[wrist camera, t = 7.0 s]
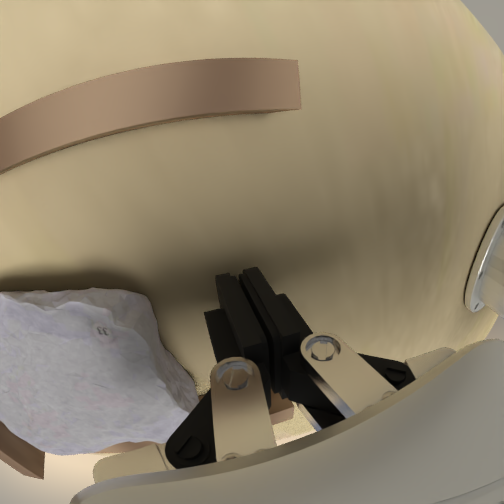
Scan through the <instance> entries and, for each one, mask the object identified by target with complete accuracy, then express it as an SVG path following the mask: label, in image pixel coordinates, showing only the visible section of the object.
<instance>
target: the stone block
mask: <svg viewBox="0 0 504 504" xmlns="http://www.w3.org/2000/svg"><path fill="white" fill-rule="evenodd" d="M198 403H199V399H198V395H197V392H196V388H195V382H194V381H193V380H192V378H191V377H190V375H189V374H188V373H187V372H186V371H185V370H184V369H183V367H182V365H180V364H179V363H178V362H177V361H176V360H175V358H174V357H173V356H172V354H171V353H170V352H169V351H168V350H166V349H165V348H164V347H163V345H162V343H161V341H160V337H159V333H158V323H157V320H156V318H155V315H154V313H153V310H152V306H151V303H150V301H149V300H148V298H147V297H146V296H145V295H142V294H138V293H135V292H130V291H126V290H120V289H100V288H94V287H92V288H90V289H87V290H65V291H60V292H46V291H45V290H40V291H39V290H35V291H30V292H28V291H11V292H6V291H4V292H1V291H0V421H2V422H3V423H4V424H5V425H6V427H7V428H8V429H9V430H10V431H11V432H12V433H14V434H15V435H16V436H18V437H19V438H21V439H23V440H25V441H27V442H28V443H30V444H31V445H33V446H34V447H36V448H38V449H39V450H41V451H44V452H47V453H51V454H55V455H75V454H81V453H82V454H86V453H95V452H98V451H100V450H103V449H105V448H107V447H109V446H112V445H115V444H118V443H122V442H129V441H130V442H135V443H137V442H143V441H153V442H156V443H161V444H163V443H166V442H167V440H168V439H169V437H170V436H171V435H172V434H173V433H174V431H175V430H176V429H177V428H178V427H179V426H180V424H181V423H182V422H183V421H184V420H185V419H186V417H187V416H188V415H189V414H190V413H191V411H192V410H193V409H194V408H195V407H196V405H197V404H198Z"/></svg>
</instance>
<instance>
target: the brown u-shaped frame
mask: <svg viewBox="0 0 504 504" xmlns="http://www.w3.org/2000/svg"><path fill="white" fill-rule="evenodd" d="M299 109H301V96H300V82H299V69H298V60H287V59H270V58H222V59H205V60H193V61H183V62H175V63H168V64H161V65H155V66H149V67H144V68H138V69H133V70H129V71H124V72H120V73H116V74H112V75H108V76H104V77H101V78H97V79H94V80H90V81H87V82H84V83H81V84H78V85H75V86H72V87H69V88H66V89H63V90H61V91H58V92H55V93H53V94H50V95H48V96H45V97H43V98H41V99H38V100H36V101H34V102H32V103H29V104H27V105H25V106H23V107H21V108H19V109H17V110H15V111H13V112H11V113H9V114H7V115H5V116H3V117H2V118H0V174H2V173H4V172H7V171H9V170H11V169H13V168H15V167H18V166H20V165H22V164H25V163H27V162H30V161H32V160H34V159H37V158H40V157H42V156H45V155H48V154H50V153H53V152H56V151H59V150H62V149H65V148H68V147H71V146H74V145H77V144H80V143H83V142H87V141H90V140H94V139H97V138H101V137H105V136H108V135H112V134H116V133H121V132H125V131H129V130H134V129H138V128H143V127H148V126H153V125H159V124H164V123H170V122H177V121H183V120H190V119H198V118H206V117H216V116H226V115H239V114H256V113H273V112H280V111H289V110H299ZM204 396H205V395H203V396H198V399H199V402H200V400H201V399H202V398H203V397H204ZM293 413H294V405H293V403H292V401H290V400H288V398H286V399H283V400H282V398H281V396H280V394H279V393H276V394H274V393H273V391H272V389H271V407H270V409H269V415H270V419H271V423H272V425H274V424H277V423H280V422H283V421H286V420H289V419H292V418H293ZM152 444H156V445H160V444H161V443H156V442H153V441H143V442H137V443H135V442H130V441H129V442H122V443H118V444H115V445H112V446H109V447H107V448H105V449H103V450H100V451H98V452H95V453H124V452H129V451H132V450H136V449H139V448H142V447H145V446H148V445H152ZM44 458H45V452H44V451H41V450H39V449H38V448H36V447H34V446H33V445H31V444H30V443H28V442H27V441H25V440H23V439H21V438H19V437H18V436H16V435H15V434H14V433H12V432H11V431H10V430H9V429H8V428H7V427H6V425H5V424H4V423H3V422H2V421H0V459H1V460H2V461H4V462H5V463H7V464H8V465H10V466H11V467H12V468H14V469H15V470H17V471H18V472H20V473H22V474H23V475H26V476H30V477H34V478H39V479H44Z"/></svg>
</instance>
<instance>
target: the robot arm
mask: <svg viewBox="0 0 504 504" xmlns="http://www.w3.org/2000/svg"><path fill="white" fill-rule="evenodd" d="M215 279H216V285H217V291H218V296H219V302H220V309H216V310H211V311H207V312H204V314H205V319H206V323H207V327H208V331H209V335H210V339H211V343H212V347H213V350H214V354H215V357H216V361H217V365H215V366H214V368H213V370H212V371H211V376H210V384H211V388H210V389H209V391H208V392H207V393H206V394H205V396H204V397H203V398H202V399H201V400H200V402H199V403H198V404H197V405H196V407H195V408H194V409H193V410H192V411H191V413H190V414H189V415H188V416H187V417H186V419H185V420H184V421H183V422H182V423H181V424H180V426H179V427H178V428H177V429H176V430H175V431H174V433H173V434H172V435H171V436H170V437H169V439H168V440H167V442H166V443H163V444H160V445H156V444H152V445H148V446H145V447H142V448H139V449H136V450H132V451H129V452H125V453H121V454H118V455H114V456H110V457H106V458H103V459H101V460H99V461H98V462H97V463H96V464H95V466H94V469H93V478H94V481H95V484H94V485H91V486H89V487H87V488H85V489H83V490H82V491H80V492H79V493H77V494H76V495H75V496H74V497H73V498H72V500H71V502H70V504H504V341H502V340H499V339H487V340H483V341H479V342H475V343H473V344H470V345H468V346H466V347H464V348H462V349H460V350H459V351H457V352H456V351H455V350H453V349H451V348H446V347H445V348H440V349H437V350H434V351H431V352H428V353H425V354H422V355H419V356H416V357H413V358H410V359H407V360H405V362H404V363H402V362H398V361H394V360H389V359H384V358H379V357H374V356H369V355H364V354H359V353H356V352H355V351H354V350H353V349H352V348H351V347H349V346H348V345H347V344H346V343H345V342H344V341H343V340H342V339H341V338H339V337H338V336H336V335H334V334H331V333H326V332H319V333H313V332H312V331H311V329H310V328H309V327H308V325H307V324H306V322H305V321H304V320H303V318H302V317H301V315H300V314H299V313H298V311H297V310H296V308H295V307H294V306H293V304H292V303H291V301H290V300H289V299H288V297H287V296H286V295H285V294H279V295H276V294H275V293H274V291H273V290H272V288H271V287H270V285H269V284H268V282H267V281H266V279H265V278H264V276H263V275H262V273H261V272H260V270H259V269H258V267H254V268H249V269H244V270H243V274H239V282H238V280H237V278H236V276H235V275H234V276H230V274H229V273H226V274H221V275H216V276H215ZM485 305H487V306H488V307H489V308H491V309H492V310H493V311H494V312H496V313H497V314H498V315H499V316H501V317H502V318H503V319H504V206H503V207H502V208H500V210H499V211H498V212H497V214H496V215H495V217H494V219H493V220H492V222H491V224H490V226H489V228H488V230H487V232H486V234H485V237H484V239H483V241H482V244H481V246H480V248H479V251H478V253H477V256H476V259H475V261H474V264H473V267H472V270H471V273H470V276H469V280H468V283H467V288H466V292H465V306H466V307H467V309H469V310H470V311H471V312H477V311H479V310H480V309H482V308H483V307H484V306H485ZM271 389H272V391H273V393H274V394H276V393H279V394H280V396H281V398H282V400H283V399H286V398H288V400H290V401H293V402H296V404H297V406H298V408H299V409H300V411H301V412H302V413H303V415H304V416H305V417H306V418H307V420H308V421H309V422H310V424H311V425H312V426H313V427H314V429H315V430H316V431H317V432H315V433H313V434H310V435H307V436H305V437H302V438H300V439H297V440H294V441H291V442H288V443H285V444H282V445H280V446H277V444H276V440H275V436H274V432H273V428H272V423H271V419H270V415H269V409H270V407H271Z"/></svg>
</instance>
